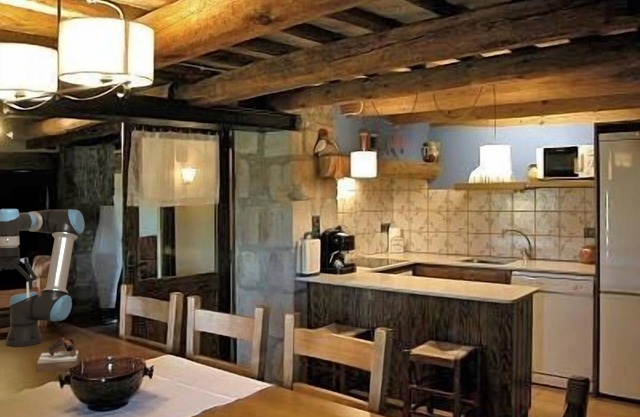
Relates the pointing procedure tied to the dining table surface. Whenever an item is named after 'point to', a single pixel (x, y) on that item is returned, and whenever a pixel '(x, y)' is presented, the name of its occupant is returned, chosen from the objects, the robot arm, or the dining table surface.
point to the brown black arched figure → (63, 346)
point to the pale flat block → (57, 361)
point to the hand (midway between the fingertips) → (10, 298)
